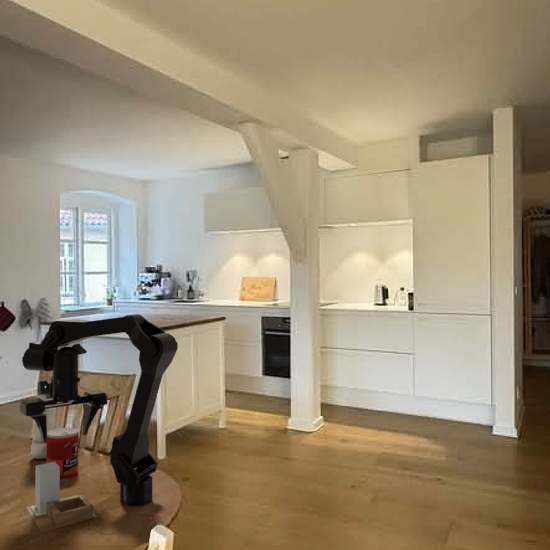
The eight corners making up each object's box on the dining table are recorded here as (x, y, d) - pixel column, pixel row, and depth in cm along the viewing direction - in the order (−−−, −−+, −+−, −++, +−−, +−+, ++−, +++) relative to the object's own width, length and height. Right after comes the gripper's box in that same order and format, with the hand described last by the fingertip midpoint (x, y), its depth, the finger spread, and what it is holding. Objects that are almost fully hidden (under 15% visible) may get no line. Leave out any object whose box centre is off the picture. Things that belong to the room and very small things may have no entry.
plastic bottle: (32, 455, 153) (32, 386, 153) (57, 453, 155) (57, 384, 155) (29, 462, 146) (29, 390, 147) (55, 460, 148) (55, 389, 149)
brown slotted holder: (97, 521, 111) (97, 504, 111) (41, 536, 105) (41, 519, 105) (77, 499, 123) (77, 484, 123) (25, 511, 116) (25, 495, 116)
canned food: (67, 480, 134) (67, 436, 134) (39, 477, 136) (39, 434, 136) (84, 469, 142) (84, 428, 142) (57, 467, 143) (57, 426, 143)
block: (59, 508, 115) (59, 466, 115) (39, 513, 112) (39, 470, 112) (54, 502, 118) (54, 461, 118) (35, 506, 116) (35, 465, 116)
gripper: (92, 364, 138) (91, 424, 138) (14, 372, 126) (13, 437, 126) (108, 370, 129) (108, 434, 129) (27, 379, 117) (26, 449, 117)
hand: (65, 438), depth 126 cm, fingers open, 9 cm apart
